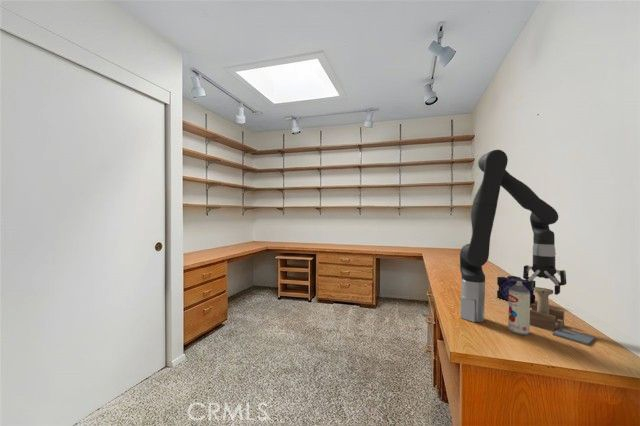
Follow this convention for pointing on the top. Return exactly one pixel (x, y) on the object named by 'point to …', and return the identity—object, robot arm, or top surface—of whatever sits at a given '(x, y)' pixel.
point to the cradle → (547, 319)
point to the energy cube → (509, 282)
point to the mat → (574, 336)
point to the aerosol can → (519, 309)
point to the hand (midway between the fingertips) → (543, 291)
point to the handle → (543, 299)
